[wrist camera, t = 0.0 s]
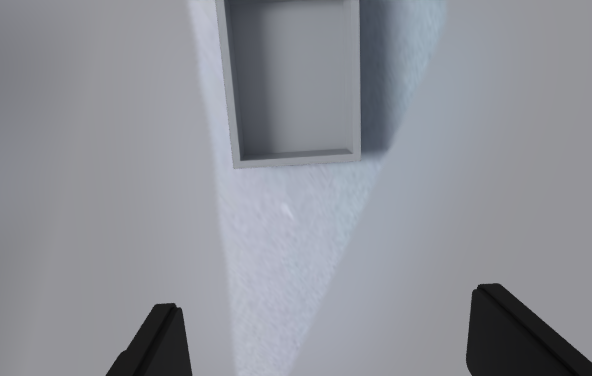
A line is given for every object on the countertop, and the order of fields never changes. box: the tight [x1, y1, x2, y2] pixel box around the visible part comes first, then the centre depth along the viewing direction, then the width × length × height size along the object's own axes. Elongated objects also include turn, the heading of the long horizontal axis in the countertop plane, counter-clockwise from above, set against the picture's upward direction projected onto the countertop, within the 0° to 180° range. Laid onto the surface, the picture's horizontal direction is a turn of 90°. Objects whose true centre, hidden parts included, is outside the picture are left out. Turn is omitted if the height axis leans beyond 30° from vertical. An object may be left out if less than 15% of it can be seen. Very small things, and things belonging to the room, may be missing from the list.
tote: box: [215, 0, 361, 169], centre depth 36 cm, size 18×14×5 cm
